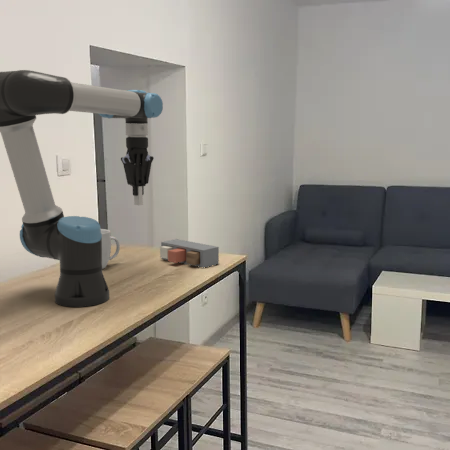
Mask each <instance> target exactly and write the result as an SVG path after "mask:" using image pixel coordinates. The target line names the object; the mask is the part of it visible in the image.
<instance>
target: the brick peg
mask: <svg viewBox="0 0 450 450" xmlns="http://www.w3.org/2000/svg"><path fill="white" fill-rule="evenodd" d="M167 261H168V262H170V263H174V264H178V262H182V261H186V249H183V248H178V249H173V250H168V260H167Z"/></svg>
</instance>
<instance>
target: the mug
mask: <svg viewBox="0 0 450 450" xmlns="http://www.w3.org/2000/svg"><path fill="white" fill-rule="evenodd" d="M101 234H102V270H103V269H105V268H106V267H108V266H107V265H108V264H109V261H112V260H113V259H115V258H116V257H117V256H118V255H119V252H120V250H121V249H120V247H121V245H120V242H119V239H117V238H116V237H114V236H111V234H112V233H111V230H110V229H105V228H101ZM112 240H113V241H114V242H115V244H116V249H115V252H114V253H113V254H112V255H111V253H112V251H111V249H112V248H111V247H112Z"/></svg>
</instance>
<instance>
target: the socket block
mask: <svg viewBox="0 0 450 450" xmlns="http://www.w3.org/2000/svg"><path fill="white" fill-rule="evenodd" d="M160 245H161V246H166V245H168V246H173V249H178V248H183V249H186V252H190V251H198V252H200V264H197V265H194V266H193V267H195V266H199V267H198V268H200V267H203V268H202V269H205V268H204V267H207V268H209V267H208V266H210V267H213V266H212V265H214V266H217V265H216V264H218V265H219V261H220V260H219V258H220V257H219V255H220V254H219V251H220V250H219V249H220V247H219V246H215V245H210V244H206V243H205V244H204V243H199V242H195V241H190V240H189V241H188V240H184V239H180V238H179V239H178V238H174V239H170V240H164V241H161V242H160ZM161 246H160V247H161ZM160 259H161V260H165V261H168V259H166V258H161V257H160ZM179 263H180V264H182V263H184V264H183V265H187V264H188V263H187V258H186V261H182V262H179ZM191 265H192V264H190V265H189V266H191Z"/></svg>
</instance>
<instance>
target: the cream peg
mask: <svg viewBox="0 0 450 450" xmlns="http://www.w3.org/2000/svg"><path fill="white" fill-rule="evenodd" d="M168 250H173V246H168V245H166V246H159V257H160V259H161V258H166V259H168Z"/></svg>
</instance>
